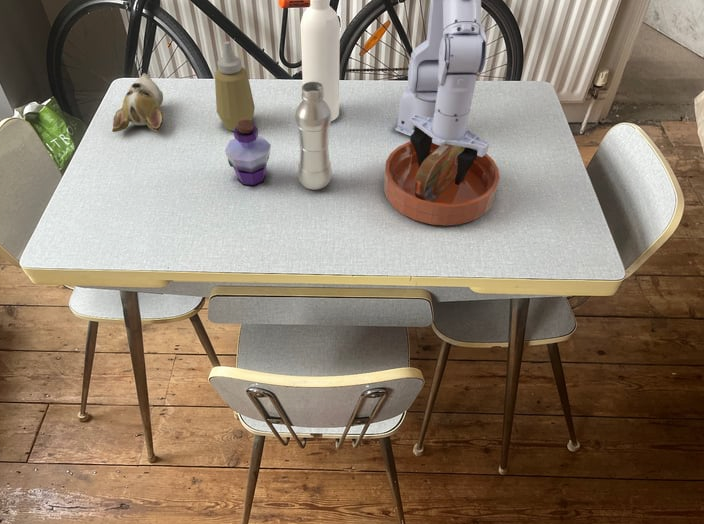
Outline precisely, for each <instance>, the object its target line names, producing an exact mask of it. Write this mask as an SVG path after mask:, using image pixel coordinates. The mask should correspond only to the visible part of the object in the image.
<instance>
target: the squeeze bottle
mask: <svg viewBox="0 0 704 524" xmlns="http://www.w3.org/2000/svg"><path fill="white" fill-rule="evenodd" d="M222 47H223V48H222V56H221V57H219V58H218V59H217V70H216V71H215V73H214V85H215V86H214V87H215V105H216V107H215V108H216V114H217V115H218V117H219V119H220V121H221V123H222V124H223V126H224V128H225V129H226V130H228V131H232V132H234V130H235V128H236V126H237V123H238V122H239V121H241V120H245V119H246V120H250V121H252V122H253V118H254V114H255V101H254V97H253V93H252V88H251V82H250V80H249V79H250V78H249V76H248V71H247V69H246V68H245V67H243V66H242V59H241V58H240V57H239V56H237V55H235V54H234V53H235V52H234V51H233V50H234V49H233V48H232V45H231V42H230V41H229V40H226V41H223V46H222Z"/></svg>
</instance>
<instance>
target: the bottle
mask: <svg viewBox="0 0 704 524" xmlns="http://www.w3.org/2000/svg"><path fill="white" fill-rule="evenodd" d="M309 2H310V5H309V6H308V7H307V8H306V9H305V10H304V11H303V13H302V15H301V19H300V24H299V25H300V49H301V50H300V51H301V52H300V54H301V76H302V79H301V80H302V85H303V84H305V83H307V82H312V81H315V82H319V83H321V84H322V85H323V93H324V98H323V100H324V101H325V102H326V104H327V105H328V107H329V108H330V111H331V114H332V115H331V122H334V121H335V120H337V118H338V117H339V115H340V51H341V50H340V49H341V46H340V45H341V24H340V20H339V16H338V13H337V11H335V9H333V7H332V6H330V0H309Z"/></svg>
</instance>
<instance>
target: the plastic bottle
mask: <svg viewBox="0 0 704 524" xmlns="http://www.w3.org/2000/svg"><path fill="white" fill-rule="evenodd" d="M323 98H324V93H323V85H322V84H321V83H319V82H315V81H312V82H307V83H305V84H303V83H302V86H301V102H300V103H299V104H298V106H297V107H296V110H295V114H294V120H295V126H296V130H297V135H298V144H299V162H298V167H297V176H298V179H299V182H300V184H301V185H302V186H303V187H304V188H306V189H308V190H313V191H314V190H315V191H317V190H322V189H324V188H325V187H326V186H328V184H329V183H330V182H331V181H332V180H331V179H332V176H333V168H332V162H331V159H330V149H329V144H330V132H331V124H332V121H331V115H332V114H331V111H330V108H329V107H328V105H327V104H326V102H325V101H324V100H323Z"/></svg>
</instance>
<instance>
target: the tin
mask: <svg viewBox="0 0 704 524" xmlns="http://www.w3.org/2000/svg"><path fill="white" fill-rule="evenodd" d="M464 150H465V148H463V147H460V146H454V145H448V144H444V145H442V146H438V147H437V148H436V149H435V150H434V151H433V152H432V153H431V154H430V155H429V156H428V157H427V158H426V159H425V160H424V161H423V162H422V164H421V166H420V167H419V170H418V172H417V175H416V178H415V196H416V197H417V198H419V199H422V200H425V201H430V202H433V201H434V200H435V199H436V198H437V197H438V196H439V195H440V194H441V193H442V192H443V191H444V190H445V189H446V188H447V187H448V186H449V185H450V184H451V183H452V182H453V181H454V179H455V178H456V175H457V170H458V159H457V157H458V155H459V154H460V153H461V152H462V151H464Z"/></svg>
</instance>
